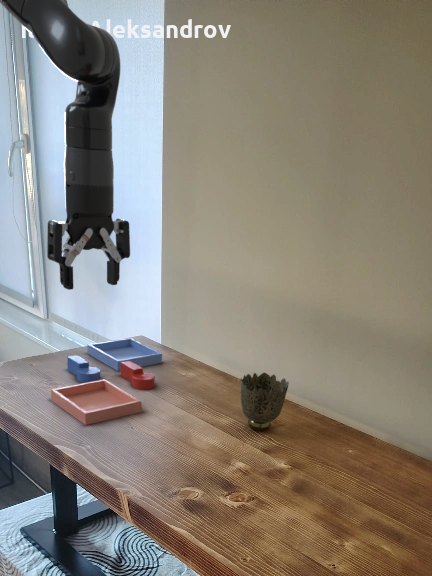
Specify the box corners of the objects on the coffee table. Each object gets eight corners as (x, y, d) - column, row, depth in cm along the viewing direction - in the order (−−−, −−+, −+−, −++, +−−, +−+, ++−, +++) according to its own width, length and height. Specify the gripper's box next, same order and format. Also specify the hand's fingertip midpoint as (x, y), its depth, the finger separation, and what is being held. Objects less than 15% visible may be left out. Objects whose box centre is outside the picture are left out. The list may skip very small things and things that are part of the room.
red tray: (51, 400, 103) (50, 389, 102) (105, 389, 109) (105, 379, 108) (85, 425, 96) (85, 413, 95) (141, 411, 102) (141, 401, 101)
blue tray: (87, 353, 125) (87, 344, 124) (130, 346, 131) (130, 337, 130) (117, 371, 117) (117, 361, 116) (161, 362, 123) (162, 353, 122)
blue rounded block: (62, 371, 115) (62, 357, 114) (82, 367, 117) (81, 354, 116) (84, 385, 110) (84, 371, 109) (104, 381, 112) (104, 367, 111)
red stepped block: (115, 376, 115) (115, 363, 113) (134, 373, 117) (134, 359, 116) (140, 391, 110) (140, 377, 108) (158, 387, 112) (159, 373, 111)
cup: (226, 425, 100) (230, 377, 96) (256, 414, 105) (262, 368, 101) (260, 442, 96) (266, 393, 92) (291, 430, 100) (298, 383, 96)
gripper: (114, 178, 104) (113, 278, 112) (35, 176, 96) (41, 284, 104) (140, 184, 100) (138, 288, 108) (60, 182, 91) (64, 295, 99)
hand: (90, 286), depth 106 cm, fingers open, 8 cm apart
